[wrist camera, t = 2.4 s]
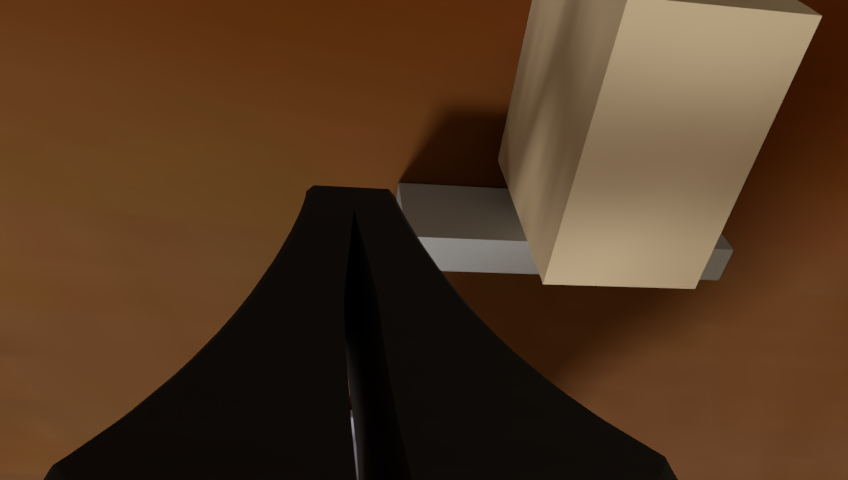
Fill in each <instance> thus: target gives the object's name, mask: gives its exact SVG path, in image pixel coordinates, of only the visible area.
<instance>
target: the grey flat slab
mask: <svg viewBox="0 0 848 480" xmlns="http://www.w3.org/2000/svg"><path fill="white" fill-rule="evenodd" d="M396 200H397V202H398V204H399V206H400V208H401V210H402V212H403V213H404V215H405V217H406V219H407V220H408V222H409V224H410V226H411V227H412V229H413V230H414V232H415V234H416V235H417V237H418V238H419V240H420V242H421V243H422V245H423V246H424V248H425V249H426V251H427V252H428V253H429V255H430V256H431V258H432V259H433V261H434V262H435V263H436V265H437V266H438V268H439V269H440V270H441V271H458V272H487V273H517V274H539V272H538V269H537V266H536V264H535V261H534V258H533V255H532V253H531V250H530V247H529V244H528V242H527V239H526V236H525V233H524V231H523V228H522V225H521V222H520V220H519V217H518V214H517V211H516V209H515V206H514V203H513V200H512V198H511V195H510V192H509V189H506V188H487V187H468V186H450V185H431V184H412V183H398V191H397V199H396ZM732 252H733V248H732V247H731V246H730V244H729V243H728V242H727V240H726V239H725V238H724V236H723V235H722V233H721V234H720V236H719V239H718V241H717V243H716V245H715V247H714V249H713V251H712V254H711V256H710V258H709V260H708V262H707V264H706V266H705V269H704V271H703V273H702V275H701V277H700V279H699V280H719V279H720V277H721V275H722V273H723V271H724V269H725V267H726V265H727V263H728V260H729V258H730V256H731V254H732Z"/></svg>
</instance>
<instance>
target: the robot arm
mask: <svg viewBox="0 0 848 480" xmlns="http://www.w3.org/2000/svg"><path fill="white" fill-rule="evenodd" d="M347 369H348V373H347ZM348 378H349V387H350V396H351V405H352V410H350V400H349V387H348ZM44 480H678V479H677V478H676V476H675V474H674V473H673V471H672V469H671V467H670V465H669V463H668V461H667V460H666V458H665V457H664V456H663V455H661V454H659V453H658V452H656V451H654V450H653V449H651V448H649V447H648V446H646V445H644V444H643V443H641V442H639V441H638V440H636V439H634V438H633V437H631V436H629V435H628V434H626V433H624V432H623V431H621V430H619V429H618V428H616V427H614V426H613V425H611V424H609V423H608V422H606V421H604V420H603V419H601V418H600V417H598V416H597V415H595V414H594V413H592V412H591V411H590V410H588V409H587V408H585V407H584V406H582V405H581V404H580V403H578V402H577V401H575V400H574V399H572V398H571V397H570V396H568V395H567V394H565V393H564V392H563V391H561V390H560V389H559V388H557V387H556V386H555V385H553V384H552V383H551V382H550V381H548V380H547V379H546V378H544V377H543V376H542V375H541V374H540V373H538V372H537V371H536V370H535V369H534V368H532V367H531V366H530V365H529V364H528V363H527V362H525V361H524V360H523V359H522V358H521V357H519V356H518V355H517V354H516V353H515V352H513V351H512V350H511V349H510V348H509V347H508V346H507V345H506V344H505V343H504V342H503V341H501V340H500V339H499V338H498V337H497V336H496V335H495V334H494V333H493V331H492V330H491V329H490V328H489V327H488V326H487V325H486V324H485V323H484V322H483V321H482V320H481V319H480V318H479V317H478V316H477V315H476V314H475V312H474V311H473V310H472V309H471V308H470V307H469V306H468V304H467V303H466V302H465V301H464V300H463V298H462V297H461V296H460V295H459V294H458V292H457V291H456V290H455V289H454V287H453V286H452V285H451V284H450V282H449V281H448V280H447V278H446V277H445V276H444V274H443V273H442V272H441V270H440V269H439V268H438V266H437V265H436V263H435V262H434V261H433V259H432V258H431V256H430V255H429V253H428V252H427V251H426V249H425V248H424V246H423V245H422V243H421V242H420V240H419V238H418V237H417V235H416V234H415V232H414V230H413V229H412V227H411V226H410V224H409V222H408V220H407V219H406V217H405V215H404V213H403V212H402V210H401V208H400V206H399V204H398V202H397V200H396V198H395V196H394V195H393V194H392V193H391V191H390V190H389V189H373V188H354V187H335V186H315V185H314V186H313V187H311V188H310V189H309V190H307V192H306V197H305V200H304V203H303V206H302V209H301V211H300V213H299V216H298V218H297V220H296V222H295V224H294V226H293V228H292V230H291V232H290V234H289V235H288V237H287V239H286V241H285V242H284V244H283V246H282V247H281V249H280V251H279V253H278V254H277V256H276V258H275V259H274V261H273V262H272V264H271V265H270V267H269V268H268V270H267V271H266V272H265V274H264V275H263V277H262V278H261V280H260V281H259V282H258V284H257V285H256V287H255V288H254V290H253V291H252V292H251V294H250V295H249V296H248V297H247V299H246V300H245V301H244V303H243V304H242V305H241V306H240V308H239V309H238V310H237V311H236V312H235V314H234V315H233V316H232V317H231V318H230V319H229V320H228V322H227V323H226V324H225V325H224V326H223V327H222V328H221V329H220V331H219V332H218V333H217V334H216V335H215V336H214V337H213V338H212V339H211V340H210V341H209V342H208V343H207V344H206V345H205V346H204V347H203V348H202V349H201V350H200V351H199V352H198V353H197V354H196V355H195V356H194V357H193V358H192V359H191V360H190V361H189V362H188V363H187V364H186V365H185V366H184V367H183V368H182V369H180V370H179V371H178V372H177V373H176V374H175V375H174V376H173V377H171V378H170V379H169V380H168V381H167V382H165V383H164V384H163V385H162V386H161V387H159V388H158V389H157V390H156V391H154V392H153V393H152V394H151V395H150V396H148V397H147V398H146V399H145V400H144V401H142V402H141V403H140V404H139V405H138V406H136V407H135V408H134V409H133V410H132V411H130V412H129V413H128V414H126V415H125V416H124V417H122V418H121V419H120V420H118V421H117V422H116V423H114V424H113V425H111V426H110V427H108V428H107V429H106V430H104V431H103V432H101V433H100V434H98V435H97V436H95V437H94V438H93V439H91V440H90V441H88V442H87V443H85V444H84V445H82V446H81V447H80V448H78V449H77V450H75V451H74V452H72V453H71V454H69V455H68V456H67V457H65V458H63V459H62V460H60V461H59V462H57V463H55V464H54V465H53V466H52V467H51V469H50V470H49V472H48V473H47V475H46V476H45V478H44Z"/></svg>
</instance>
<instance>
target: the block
mask: <svg viewBox="0 0 848 480" xmlns="http://www.w3.org/2000/svg"><path fill="white" fill-rule="evenodd" d="M821 18H822V15H820V14H819V13H817V12H816V11H814V10H812V9H811V8H809V7H808V6H806V5H805V4H803V3H801V2H800V1H798V0H532V4H531V9H530V13H529V18H528V22H527V27H526V32H525V36H524V41H523V45H522V50H521V55H520V59H519V64H518V69H517V73H516V78H515V82H514V87H513V92H512V96H511V101H510V105H509V110H508V115H507V119H506V124H505V128H504V133H503V138H502V142H501V147H500V151H499V156H498V162H499V165H500V167H501V170H502V173H503V176H504V178H505V181H506V184H507V187H508V189H509V192H510V195H511V198H512V200H513V203H514V206H515V209H516V211H517V214H518V217H519V220H520V222H521V225H522V228H523V231H524V233H525V236H526V239H527V242H528V244H529V247H530V250H531V253H532V255H533V258H534V261H535V264H536V266H537V269H538V272H539V275H540V277H541V280H542V283H543V284H550V285H583V286H615V287H648V288H681V289H695V288H696V286H697V284H698V281H699V279H700V277H701V275H702V273H703V271H704V269H705V266H706V264H707V262H708V260H709V258H710V256H711V254H712V251H713V249H714V247H715V245H716V243H717V241H718V239H719V236H720V234H721V232H722V230H723V228H724V226H725V224H726V221H727V219H728V217H729V215H730V213H731V211H732V209H733V206H734V204H735V202H736V200H737V198H738V196H739V194H740V191H741V189H742V187H743V185H744V183H745V181H746V179H747V176H748V174H749V172H750V170H751V168H752V166H753V164H754V161H755V159H756V157H757V155H758V153H759V151H760V149H761V146H762V144H763V142H764V140H765V138H766V136H767V134H768V131H769V129H770V127H771V125H772V123H773V121H774V119H775V116H776V114H777V112H778V110H779V108H780V106H781V103H782V101H783V99H784V97H785V95H786V93H787V91H788V88H789V86H790V84H791V82H792V80H793V78H794V76H795V73H796V71H797V69H798V67H799V65H800V63H801V61H802V58H803V56H804V54H805V52H806V50H807V48H808V46H809V43H810V41H811V39H812V37H813V35H814V33H815V31H816V28H817V26H818V24H819V22H820V20H821Z"/></svg>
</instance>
